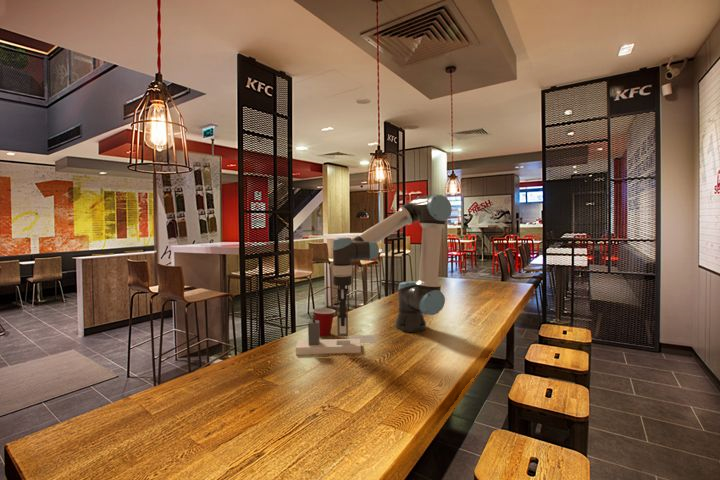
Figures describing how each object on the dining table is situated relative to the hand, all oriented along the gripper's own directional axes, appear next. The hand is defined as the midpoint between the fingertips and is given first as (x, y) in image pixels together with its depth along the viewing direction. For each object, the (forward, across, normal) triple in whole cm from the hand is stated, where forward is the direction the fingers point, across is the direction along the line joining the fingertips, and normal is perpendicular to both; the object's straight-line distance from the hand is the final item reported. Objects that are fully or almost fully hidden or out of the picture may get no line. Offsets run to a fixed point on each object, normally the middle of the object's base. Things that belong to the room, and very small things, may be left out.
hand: (342, 331), depth 151 cm
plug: (+1, 0, 0) cm, 1 cm away
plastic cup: (+8, -20, -9) cm, 23 cm away
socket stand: (+8, 0, -6) cm, 10 cm away
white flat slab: (+8, -12, +8) cm, 16 cm away
